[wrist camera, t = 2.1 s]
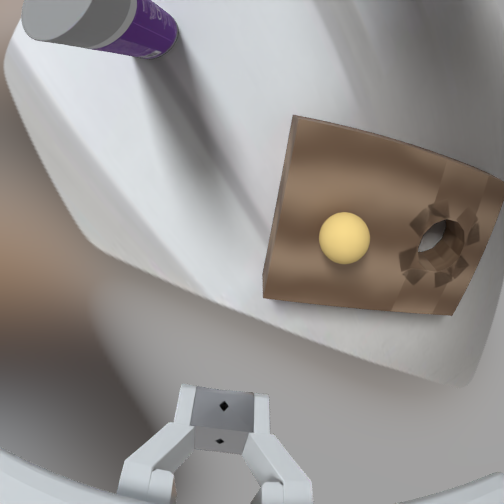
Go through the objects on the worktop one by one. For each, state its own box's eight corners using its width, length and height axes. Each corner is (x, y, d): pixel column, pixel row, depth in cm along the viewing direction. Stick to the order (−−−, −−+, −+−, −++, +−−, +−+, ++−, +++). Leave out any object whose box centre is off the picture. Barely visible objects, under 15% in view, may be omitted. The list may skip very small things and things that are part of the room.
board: (292, 114, 25) (298, 118, 22) (486, 172, 26) (508, 184, 23) (262, 274, 33) (263, 298, 29) (438, 295, 34) (452, 315, 31)
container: (189, 27, 21) (120, -28, 8) (155, 68, 23) (58, 59, 10) (149, 2, 20) (58, -53, 7) (117, 43, 22) (6, 25, 9)
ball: (321, 200, 25) (332, 220, 21) (367, 209, 25) (383, 230, 21) (310, 245, 27) (318, 270, 23) (354, 251, 27) (367, 277, 23)
